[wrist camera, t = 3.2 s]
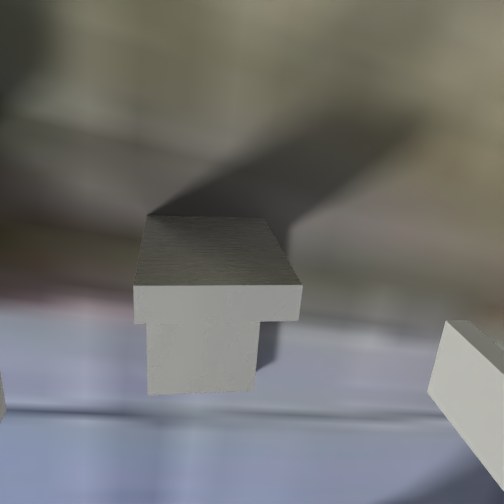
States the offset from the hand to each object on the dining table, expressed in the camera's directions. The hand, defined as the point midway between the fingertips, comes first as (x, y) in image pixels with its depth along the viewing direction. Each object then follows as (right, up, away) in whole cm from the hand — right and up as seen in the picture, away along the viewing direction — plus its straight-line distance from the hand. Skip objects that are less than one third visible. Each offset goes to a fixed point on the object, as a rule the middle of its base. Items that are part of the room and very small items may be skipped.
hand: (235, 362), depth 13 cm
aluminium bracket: (-2, 0, +12) cm, 12 cm away
